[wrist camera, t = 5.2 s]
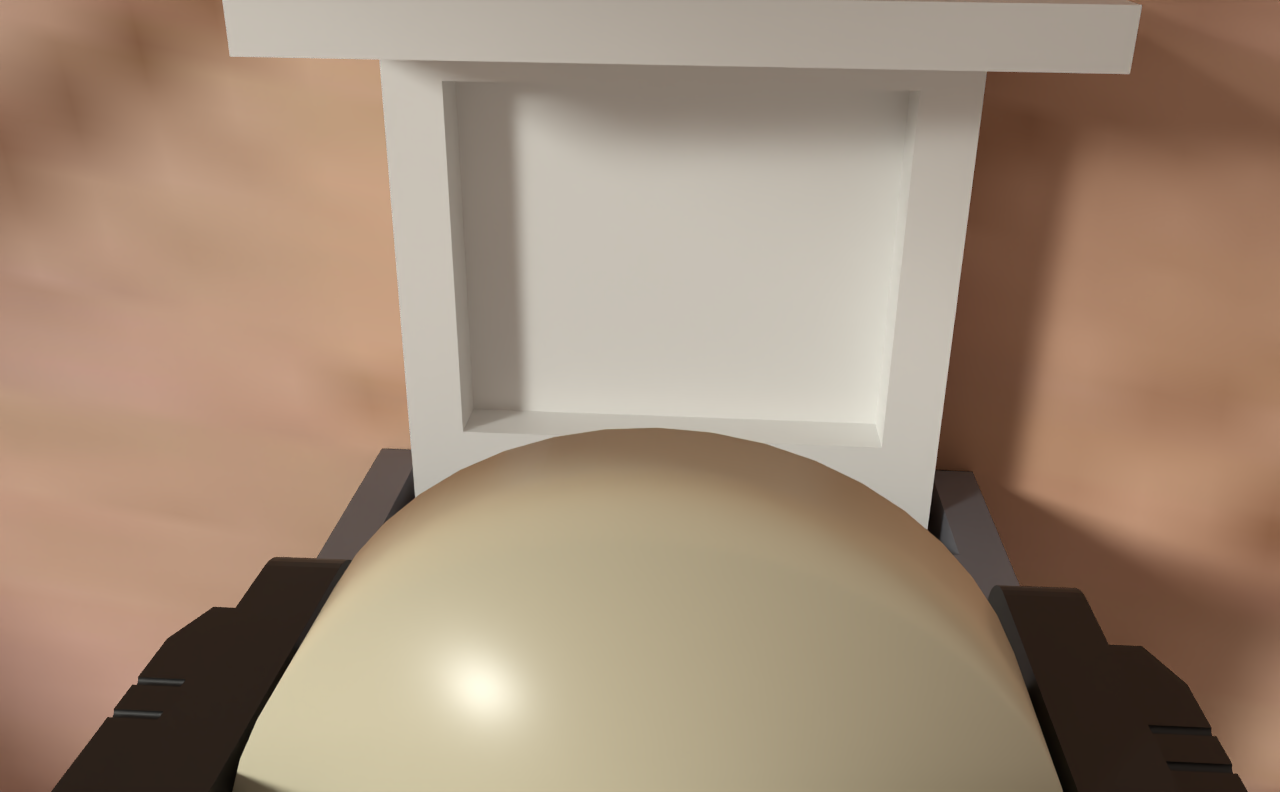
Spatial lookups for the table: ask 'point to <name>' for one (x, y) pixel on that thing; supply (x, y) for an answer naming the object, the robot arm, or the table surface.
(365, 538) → the housing
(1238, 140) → the table surface
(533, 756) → the cream domed part
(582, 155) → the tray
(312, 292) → the table surface
